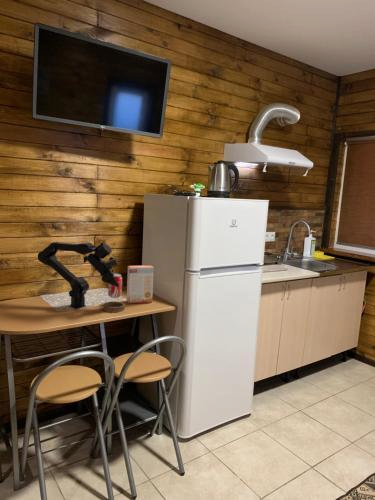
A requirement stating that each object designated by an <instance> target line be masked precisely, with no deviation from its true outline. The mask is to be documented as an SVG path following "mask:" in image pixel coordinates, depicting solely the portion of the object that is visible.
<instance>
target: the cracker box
mask: <svg viewBox="0 0 375 500" xmlns="http://www.w3.org/2000/svg"><path fill="white" fill-rule="evenodd" d="M154 269H155V268H154V266H153V265H127V279H126V302H127V304H143V303H144V304H146V303H148V304H149V303H153V290H154V272H155V271H154Z"/></svg>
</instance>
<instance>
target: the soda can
mask: <svg viewBox="0 0 375 500" xmlns="http://www.w3.org/2000/svg"><path fill="white" fill-rule="evenodd" d="M113 273H114V272H113ZM114 279H115V280H116V282H117V283H118V285H119V286H118V287H116V286H114V285H112V284H109V283H107V284H108V286H107V287H108V289H107V290H108V291H107V294H108V297H110V298H112V299H119V298H120V297H121V296H122V293H123V292H122V291H123V290H122V289H123V277H122V274H121V273H118V272H117V273H114Z"/></svg>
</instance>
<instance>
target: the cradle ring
mask: <svg viewBox="0 0 375 500" xmlns="http://www.w3.org/2000/svg"><path fill="white" fill-rule="evenodd" d="M112 306H113V307H112ZM102 308H103V311H105V312H108V313H121V312H124V311H125V310H126V304H125V302H122V301H105V302H104V303H103V307H102Z"/></svg>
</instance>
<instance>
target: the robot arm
mask: <svg viewBox="0 0 375 500" xmlns="http://www.w3.org/2000/svg"><path fill="white" fill-rule="evenodd" d="M58 251H66V252H75V253H77V254H79V255H82V256H83V255H84V256H83V260H82V263H83V264H85V263H86V262H88V263H89V264H90V265H91V267H93V268H94V270H95V271H97V272H98V274H99V275H100V276H101V282H103V283H107V284H112V285H114V286H116V287H118V286H119V285H118V283H117V282H116V280H115V279H114V269H113V267H116V266H118V265H119V263H118V261H117V258H116V257H113V256H111V257H109V259H108V260H104V259H105V258H106V257H107V256H109V255H110V254H111V253H112V252H113V251H112V248H111V247H110V246H109V245H108V244H106V243H105V242H104V241H103V242H101V243H100V244H98V246H96V245H93V243H92V242H84V243H83V242H82V243H70V242H59V241H53V242H51V243H50V244H49V245H48V246H47V247H45V248H44V249H43V250H42V251H39V252H38V254H37V260H38V262H39V263H42V264H44V265H46V266H49V267H50V268H52V269H53V271H55V272H56V273H58V274H59V276H60V277H61V278H63V279H64V280H65V281H66V282H68V284H69V286H70V288H71V289H70V290H69V292H68V295H69V297H70V304H69V305H68V307H71V308H73V309H80V308H85V307H87V305H86V296H85V295H86V294H87V292H88V291H89V289H90V284H89V283H88V280H86V279H85V278H84V276H79V277H77V276H76V275H74V273H72V272H71V270H69V269H68V268H67V267H66V266H64V265H63V264H62V263H61V262H60V261H59V260H58V258H57V256H56V254H57V253H58Z"/></svg>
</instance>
